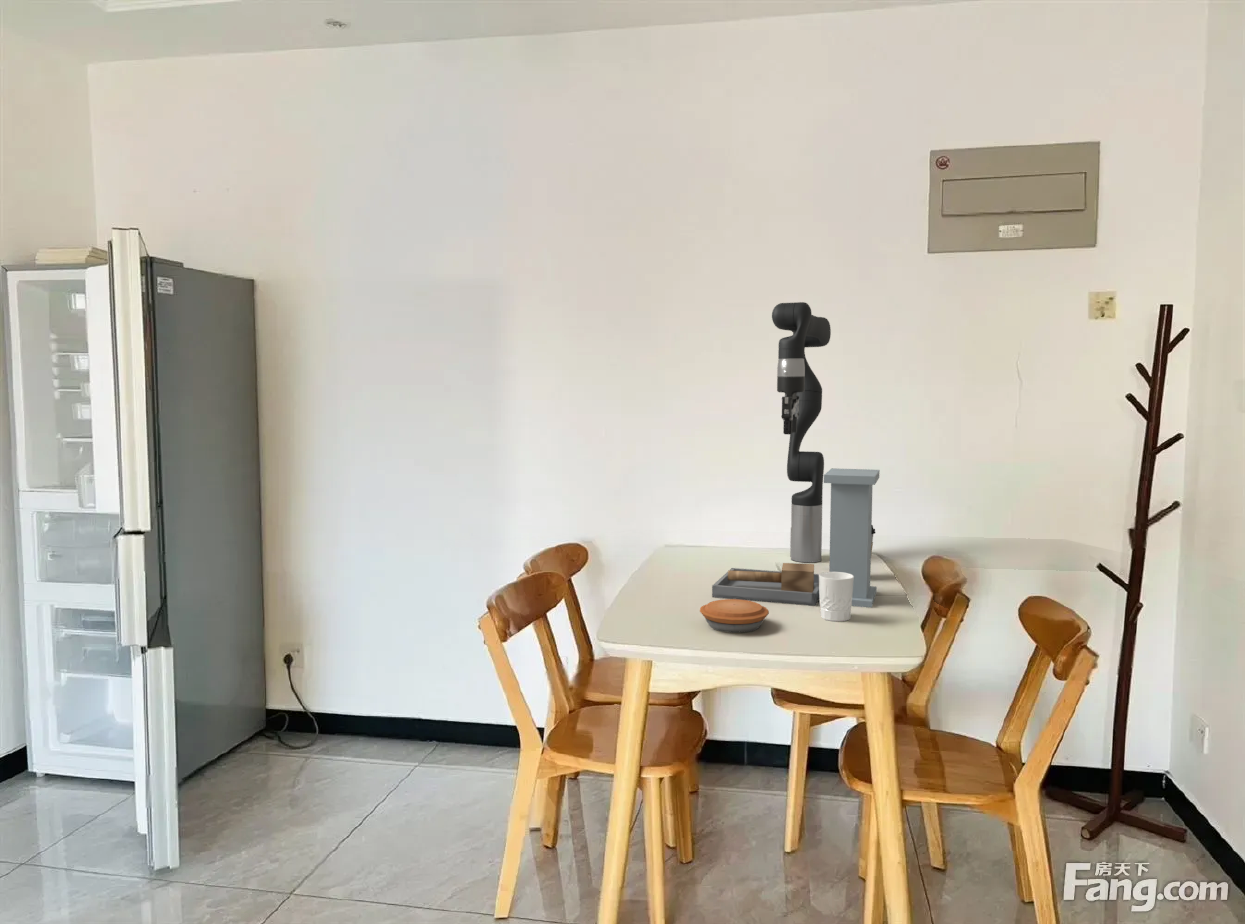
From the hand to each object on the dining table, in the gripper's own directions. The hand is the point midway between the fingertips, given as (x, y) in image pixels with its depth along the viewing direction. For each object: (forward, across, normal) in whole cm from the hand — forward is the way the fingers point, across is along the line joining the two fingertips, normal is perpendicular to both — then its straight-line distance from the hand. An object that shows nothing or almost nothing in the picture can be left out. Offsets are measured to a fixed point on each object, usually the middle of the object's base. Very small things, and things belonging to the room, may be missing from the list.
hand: (790, 433), depth 243 cm
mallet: (+39, -22, +1) cm, 45 cm away
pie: (+40, -55, +3) cm, 69 cm away
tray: (+40, -22, +1) cm, 46 cm away
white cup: (+40, -42, -18) cm, 60 cm away
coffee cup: (+40, +1, -19) cm, 44 cm away
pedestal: (+40, -22, -19) cm, 49 cm away
